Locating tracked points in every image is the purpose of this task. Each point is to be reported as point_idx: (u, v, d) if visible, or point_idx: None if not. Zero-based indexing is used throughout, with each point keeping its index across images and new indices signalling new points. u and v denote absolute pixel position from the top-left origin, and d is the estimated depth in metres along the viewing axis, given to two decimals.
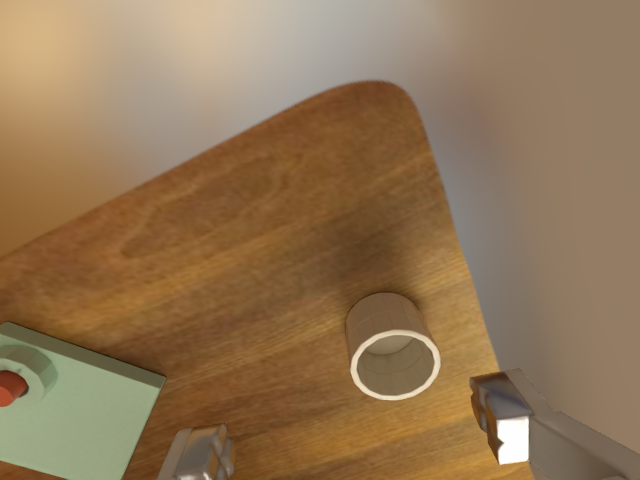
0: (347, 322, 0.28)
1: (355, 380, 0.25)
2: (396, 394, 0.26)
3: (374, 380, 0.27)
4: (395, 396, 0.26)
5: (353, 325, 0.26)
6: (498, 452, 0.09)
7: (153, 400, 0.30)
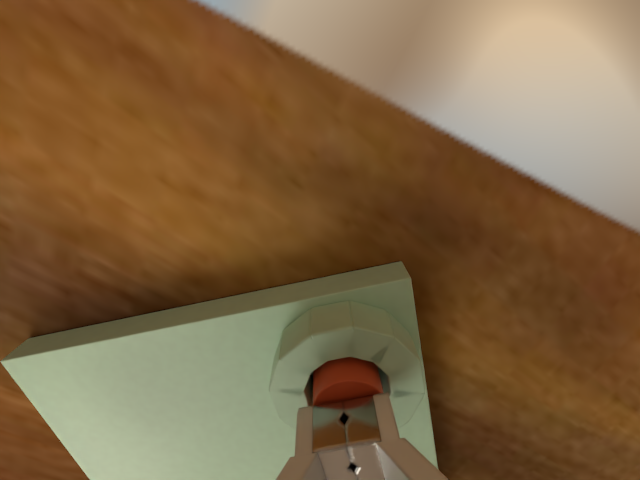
0: None
1: None
2: None
3: None
4: None
5: None
6: (355, 475, 0.09)
7: None
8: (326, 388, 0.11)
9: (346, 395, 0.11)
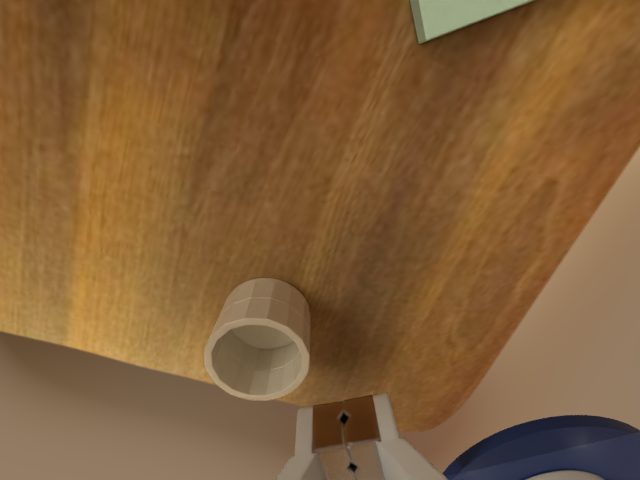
0: (304, 303, 0.24)
1: (271, 323, 0.20)
2: (217, 339, 0.20)
3: None
4: (216, 338, 0.20)
5: (307, 323, 0.23)
6: (355, 475, 0.09)
7: (422, 5, 0.17)
8: None
9: None
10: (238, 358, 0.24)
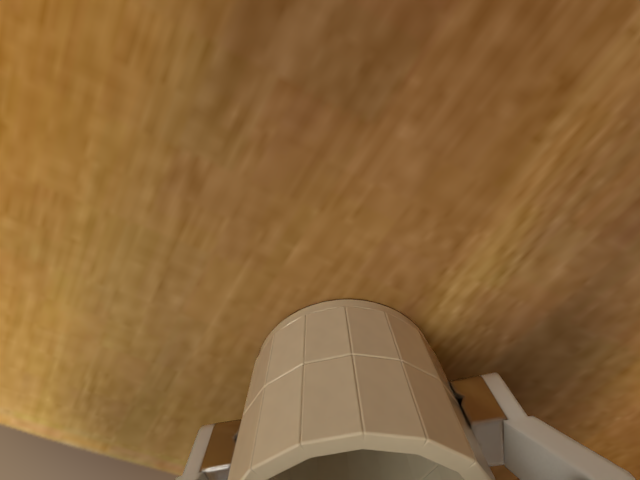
0: (439, 364, 0.11)
1: (436, 450, 0.07)
2: (267, 474, 0.07)
3: None
4: (266, 474, 0.07)
5: None
6: None
7: None
8: None
9: None
10: (284, 472, 0.11)
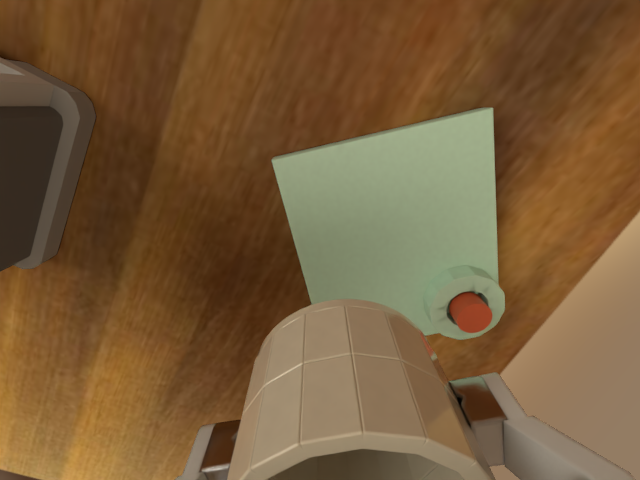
0: (439, 363, 0.11)
1: (435, 450, 0.07)
2: (267, 474, 0.07)
3: None
4: (265, 473, 0.07)
5: None
6: None
7: None
8: (489, 309, 0.22)
9: (483, 317, 0.23)
10: (284, 472, 0.11)
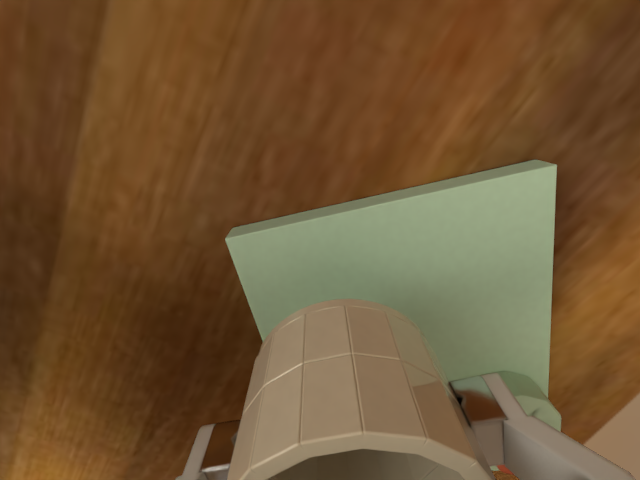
0: (439, 363, 0.11)
1: (436, 450, 0.07)
2: (267, 473, 0.07)
3: None
4: (266, 473, 0.07)
5: None
6: None
7: None
8: None
9: None
10: (284, 472, 0.11)
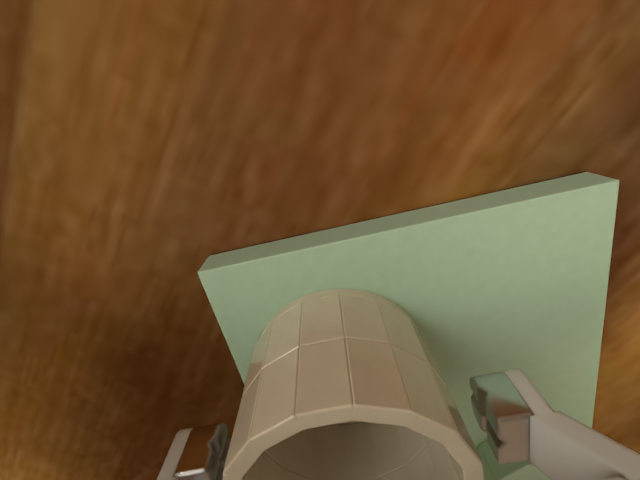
0: (429, 349, 0.12)
1: (420, 422, 0.07)
2: (265, 445, 0.08)
3: None
4: (263, 445, 0.08)
5: None
6: (498, 452, 0.09)
7: None
8: None
9: None
10: (282, 453, 0.12)
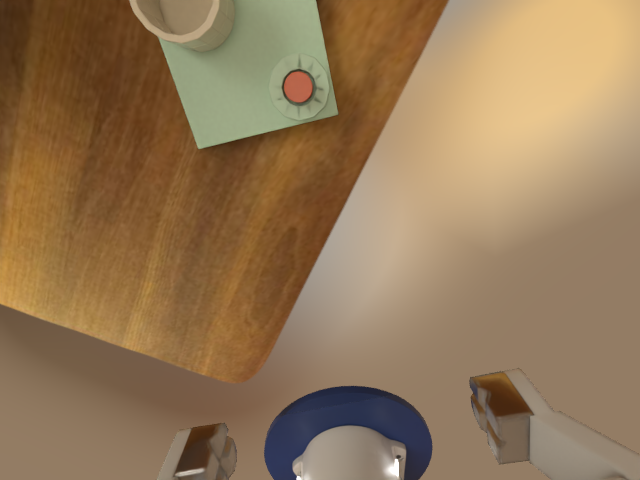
0: None
1: None
2: None
3: None
4: None
5: None
6: (498, 452, 0.09)
7: (193, 132, 0.32)
8: (308, 77, 0.28)
9: (305, 85, 0.28)
10: (163, 27, 0.27)
